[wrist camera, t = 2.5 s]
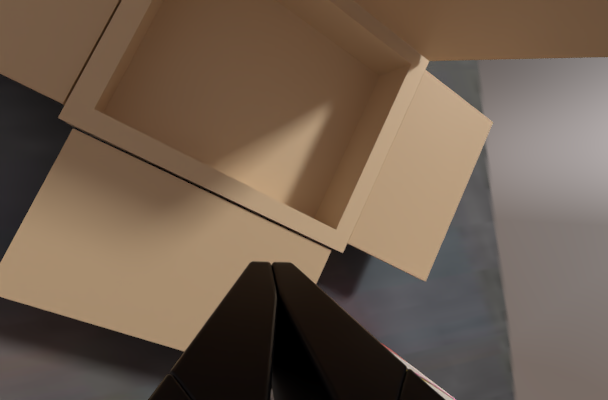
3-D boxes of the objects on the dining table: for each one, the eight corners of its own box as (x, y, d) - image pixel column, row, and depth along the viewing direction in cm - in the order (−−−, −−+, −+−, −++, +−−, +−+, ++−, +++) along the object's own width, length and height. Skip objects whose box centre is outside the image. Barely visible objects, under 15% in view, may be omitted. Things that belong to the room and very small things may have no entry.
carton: (344, 378, 22) (373, 408, 19) (-173, 211, 13) (-256, 223, 10) (456, 119, 23) (498, 113, 20) (57, -177, 15) (38, -255, 12)
